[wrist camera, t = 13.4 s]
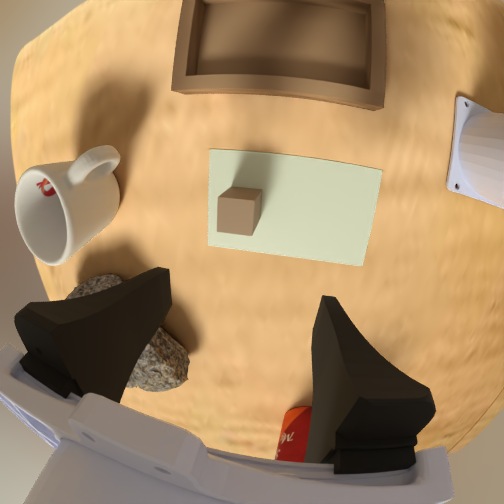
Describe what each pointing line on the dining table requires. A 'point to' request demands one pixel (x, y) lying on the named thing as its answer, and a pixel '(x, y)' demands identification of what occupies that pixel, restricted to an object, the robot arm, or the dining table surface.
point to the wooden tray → (283, 49)
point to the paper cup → (294, 435)
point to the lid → (291, 205)
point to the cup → (67, 203)
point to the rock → (147, 348)
